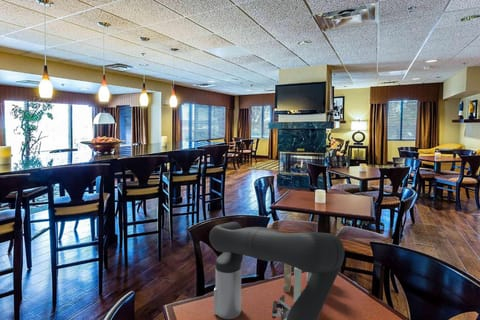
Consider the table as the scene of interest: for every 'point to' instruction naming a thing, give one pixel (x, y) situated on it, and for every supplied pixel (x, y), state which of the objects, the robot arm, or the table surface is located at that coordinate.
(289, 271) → the tan flat rectangular block
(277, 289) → the table surface
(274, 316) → the robot arm
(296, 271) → the tile
